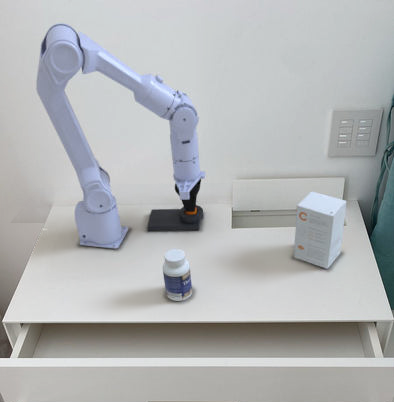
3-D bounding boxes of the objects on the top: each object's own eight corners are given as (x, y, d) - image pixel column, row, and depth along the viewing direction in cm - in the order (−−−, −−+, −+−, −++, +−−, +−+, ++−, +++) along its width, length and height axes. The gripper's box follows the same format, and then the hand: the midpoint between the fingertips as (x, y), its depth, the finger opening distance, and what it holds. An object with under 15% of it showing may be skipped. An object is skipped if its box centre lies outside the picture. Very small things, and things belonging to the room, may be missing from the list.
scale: (148, 231, 134) (146, 220, 131) (152, 214, 138) (150, 203, 136) (202, 230, 132) (201, 219, 130) (204, 213, 137) (203, 202, 135)
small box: (340, 253, 123) (348, 200, 113) (327, 269, 119) (333, 216, 110) (306, 242, 126) (311, 190, 117) (292, 257, 123) (296, 205, 113)
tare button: (185, 218, 133) (184, 212, 132) (186, 212, 135) (185, 205, 133) (196, 218, 133) (196, 212, 131) (197, 212, 134) (196, 205, 133)
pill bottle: (189, 303, 115) (185, 264, 108) (163, 300, 116) (157, 262, 109) (194, 285, 119) (191, 247, 112) (169, 283, 120) (164, 245, 113)
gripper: (201, 172, 117) (205, 228, 127) (206, 138, 127) (209, 192, 137) (167, 173, 118) (173, 228, 127) (174, 139, 127) (180, 193, 137)
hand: (190, 210), depth 132 cm, fingers closed, pressing on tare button
